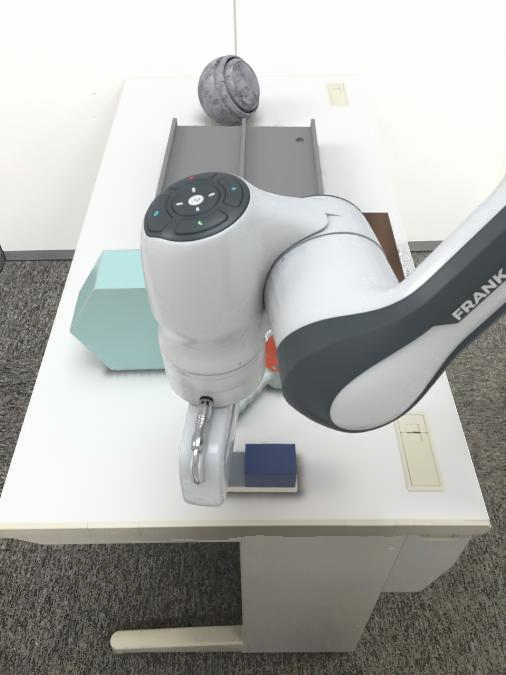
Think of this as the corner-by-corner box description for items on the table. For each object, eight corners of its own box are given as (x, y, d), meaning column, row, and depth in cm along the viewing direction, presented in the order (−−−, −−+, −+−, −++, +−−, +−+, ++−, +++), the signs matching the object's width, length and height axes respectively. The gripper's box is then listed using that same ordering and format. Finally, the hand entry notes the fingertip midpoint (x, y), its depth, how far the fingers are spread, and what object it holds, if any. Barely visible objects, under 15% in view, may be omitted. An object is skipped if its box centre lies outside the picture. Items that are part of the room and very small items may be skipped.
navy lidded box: (295, 461, 72) (297, 442, 68) (296, 492, 69) (299, 474, 65) (221, 460, 72) (219, 442, 68) (219, 491, 69) (217, 474, 65)
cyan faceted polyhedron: (165, 349, 90) (229, 271, 77) (161, 386, 85) (229, 310, 72) (66, 314, 83) (118, 221, 70) (56, 353, 77) (111, 261, 65)
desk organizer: (152, 262, 97) (147, 232, 92) (176, 146, 123) (172, 117, 118) (324, 264, 97) (329, 234, 92) (312, 147, 123) (315, 118, 118)
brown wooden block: (379, 247, 100) (387, 212, 94) (398, 327, 87) (409, 292, 81) (331, 247, 100) (337, 212, 94) (343, 326, 87) (350, 292, 81)
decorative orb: (243, 142, 124) (242, 76, 113) (189, 128, 128) (183, 64, 117) (268, 113, 133) (270, 50, 122) (217, 102, 137) (214, 39, 126)
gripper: (234, 468, 39) (241, 536, 49) (262, 277, 52) (263, 363, 63) (150, 460, 40) (174, 529, 50) (199, 273, 53) (210, 359, 63)
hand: (224, 436), depth 56 cm, fingers open, 8 cm apart
